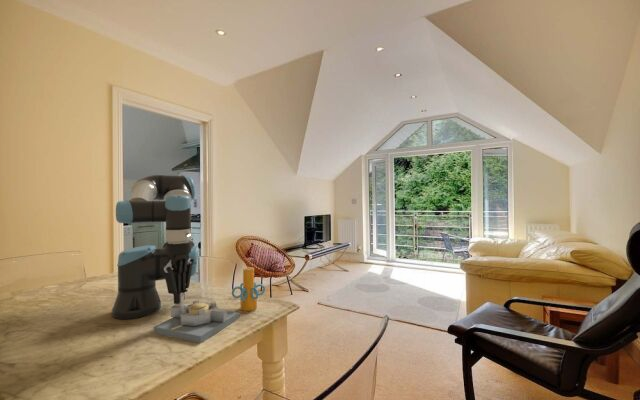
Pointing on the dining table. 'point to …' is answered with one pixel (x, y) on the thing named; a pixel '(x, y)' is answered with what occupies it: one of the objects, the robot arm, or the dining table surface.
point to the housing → (194, 332)
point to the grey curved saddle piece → (199, 314)
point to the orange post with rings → (248, 290)
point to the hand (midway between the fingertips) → (179, 312)
